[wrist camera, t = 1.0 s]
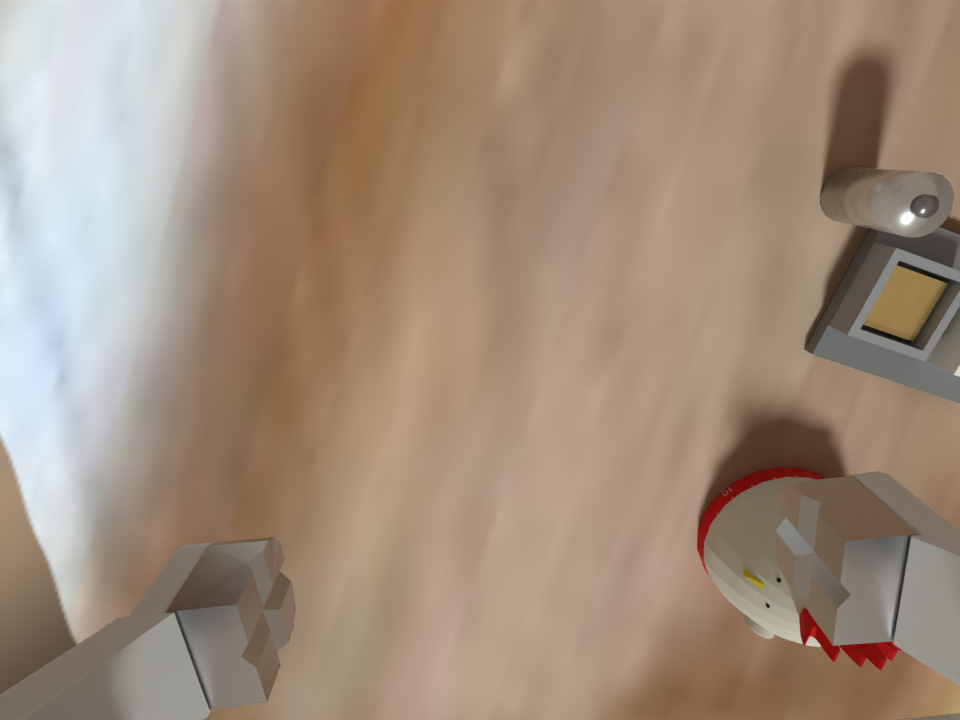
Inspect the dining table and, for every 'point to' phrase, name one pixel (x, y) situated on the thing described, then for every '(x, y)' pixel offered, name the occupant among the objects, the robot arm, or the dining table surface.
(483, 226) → the dining table surface
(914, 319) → the plate
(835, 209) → the cell
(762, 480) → the kitchen timer
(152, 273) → the dining table surface
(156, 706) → the robot arm
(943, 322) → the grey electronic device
